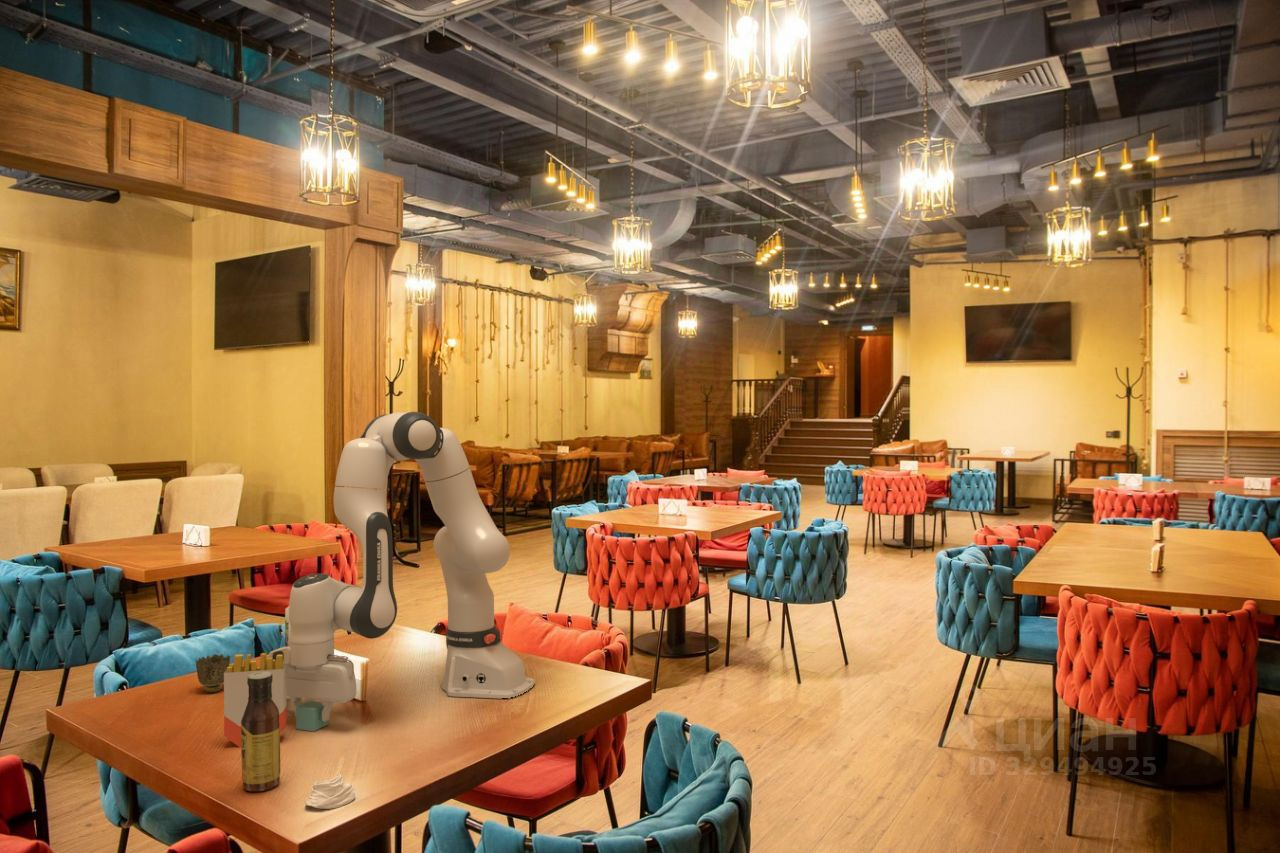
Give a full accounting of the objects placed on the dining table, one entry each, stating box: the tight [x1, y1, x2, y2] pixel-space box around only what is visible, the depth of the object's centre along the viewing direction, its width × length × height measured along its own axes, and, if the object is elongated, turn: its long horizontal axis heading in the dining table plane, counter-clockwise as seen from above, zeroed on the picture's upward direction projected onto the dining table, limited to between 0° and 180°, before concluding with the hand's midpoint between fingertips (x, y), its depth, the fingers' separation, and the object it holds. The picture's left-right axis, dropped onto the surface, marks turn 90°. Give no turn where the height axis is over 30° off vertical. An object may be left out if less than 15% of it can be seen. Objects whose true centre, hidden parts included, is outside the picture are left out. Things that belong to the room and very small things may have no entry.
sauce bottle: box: [240, 671, 281, 792], centre depth 150 cm, size 6×6×20 cm
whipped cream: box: [304, 773, 356, 810], centre depth 144 cm, size 8×7×5 cm
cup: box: [195, 653, 231, 694], centre depth 204 cm, size 8×7×8 cm
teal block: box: [295, 701, 329, 732], centre depth 180 cm, size 4×4×4 cm
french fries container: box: [223, 652, 288, 748], centre depth 171 cm, size 5×11×18 cm, turn 104°
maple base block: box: [286, 696, 322, 717], centre depth 191 cm, size 8×8×4 cm
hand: (312, 718), depth 180 cm, fingers closed on teal block, 4 cm apart
